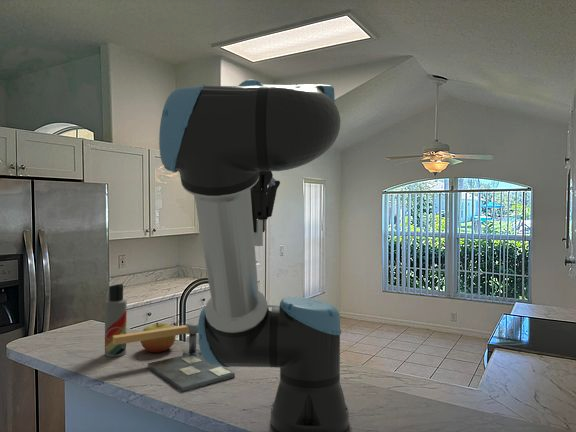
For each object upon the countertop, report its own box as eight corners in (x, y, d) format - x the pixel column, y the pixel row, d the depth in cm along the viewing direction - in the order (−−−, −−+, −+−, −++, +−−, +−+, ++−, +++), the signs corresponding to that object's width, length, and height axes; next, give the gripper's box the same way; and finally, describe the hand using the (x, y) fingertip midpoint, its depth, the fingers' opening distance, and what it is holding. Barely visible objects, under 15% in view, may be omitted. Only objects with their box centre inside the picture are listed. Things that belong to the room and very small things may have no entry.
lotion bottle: (118, 358, 117) (119, 286, 117) (100, 356, 118) (101, 285, 118) (130, 351, 122) (130, 282, 122) (112, 350, 123) (113, 282, 123)
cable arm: (196, 329, 123) (196, 321, 123) (202, 332, 120) (202, 324, 120) (111, 342, 109) (112, 334, 109) (115, 346, 106) (115, 337, 106)
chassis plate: (234, 377, 103) (234, 372, 103) (182, 391, 94) (182, 386, 94) (195, 356, 119) (196, 351, 119) (147, 367, 110) (147, 362, 110)
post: (202, 354, 120) (202, 333, 120) (189, 357, 117) (189, 335, 117) (195, 351, 123) (195, 330, 123) (183, 353, 120) (183, 332, 120)
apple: (153, 343, 130) (153, 317, 130) (181, 346, 127) (181, 320, 127) (133, 353, 121) (133, 325, 121) (163, 356, 118) (163, 328, 118)
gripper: (269, 155, 112) (268, 243, 112) (227, 150, 104) (226, 245, 104) (287, 152, 107) (286, 245, 107) (244, 146, 98) (244, 247, 98)
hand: (257, 245), depth 105 cm, fingers closed
